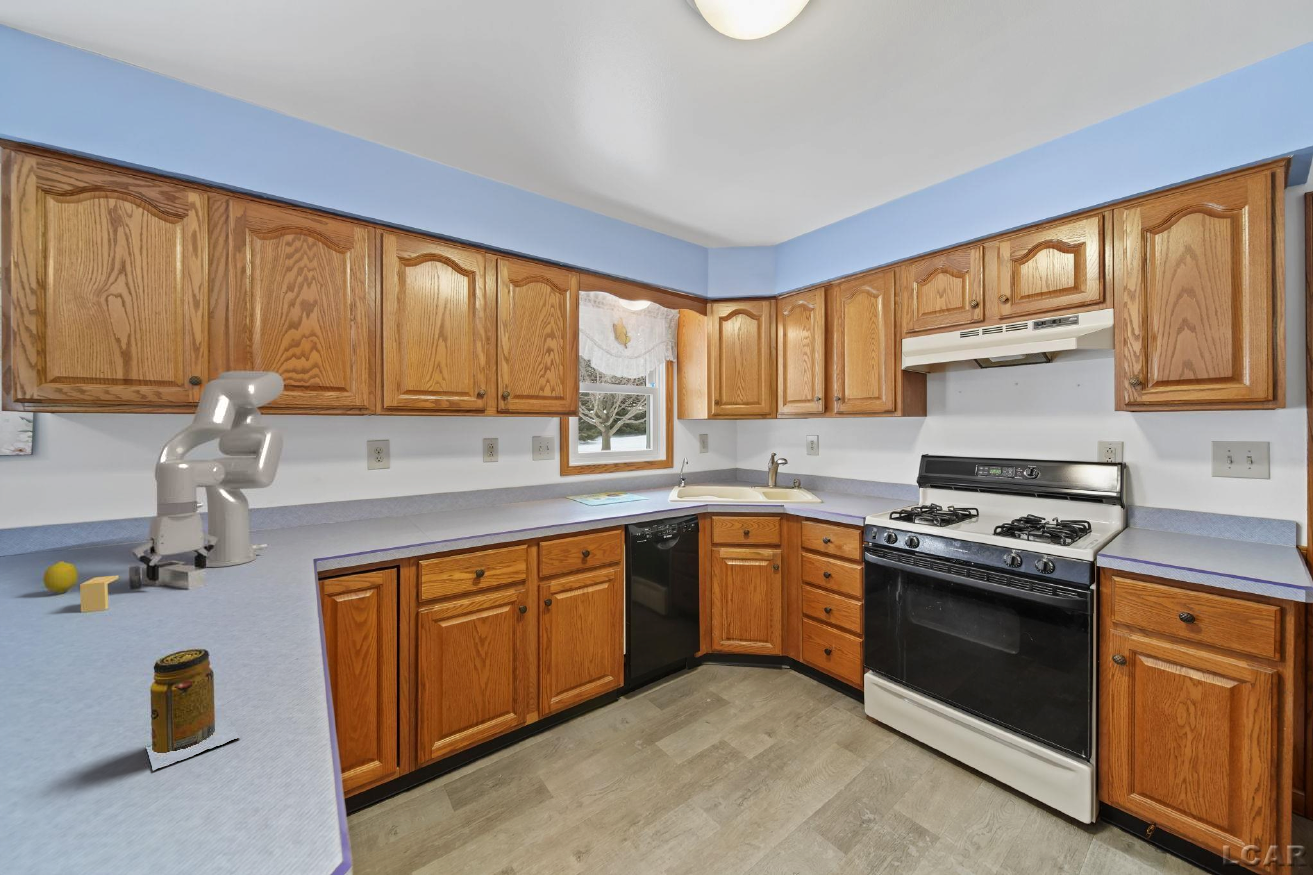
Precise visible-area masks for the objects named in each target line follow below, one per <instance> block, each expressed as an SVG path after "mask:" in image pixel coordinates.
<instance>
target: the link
mask: <svg viewBox="0 0 1313 875" xmlns="http://www.w3.org/2000/svg"><path fill="white" fill-rule="evenodd" d="M156 565H159V580H158V581H151V580H149V579H148V578H147V576H146V565H144V566H141V585H142V584H143V585H147V586H153V587H160V586H167V587H174V588H179V589H183V590H192V589H197V588H201V587H205V586H206V568H205V569H203V568H197V567H195V566H192V565H188V563H187V562H184V561H177V560H169V561H163V562H159V563H158V562H157V563H156Z"/></svg>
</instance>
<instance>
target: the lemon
mask: <svg viewBox="0 0 1313 875" xmlns="http://www.w3.org/2000/svg"><path fill="white" fill-rule="evenodd" d="M78 578H79V573H78V570H77V567H76V566H75V565H73V564H72V563H69V562H64V561H57V563H55V564H53V565H51V566H49V567H48V568H47V569H46V570H45V572H44V576H43V584H44V587H45V588H46V589H47V590H49V591H51V592H56V593H58V594H61V595H62V594H65V592H67V591H68V590H70V589H72V588H73V587H74V586H75V585H76V583H77V582H78Z"/></svg>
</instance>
